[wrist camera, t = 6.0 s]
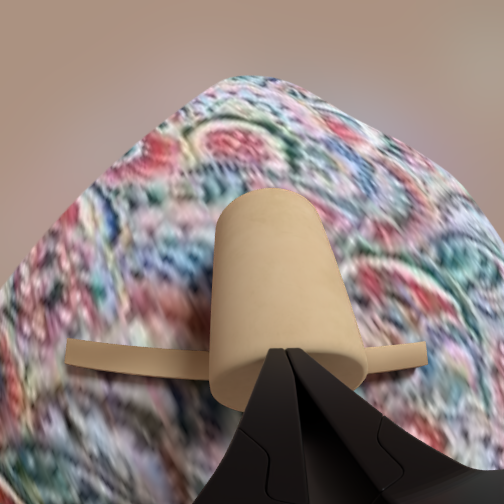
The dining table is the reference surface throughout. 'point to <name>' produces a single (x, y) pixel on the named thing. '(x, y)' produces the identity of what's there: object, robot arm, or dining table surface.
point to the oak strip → (197, 362)
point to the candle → (277, 295)
